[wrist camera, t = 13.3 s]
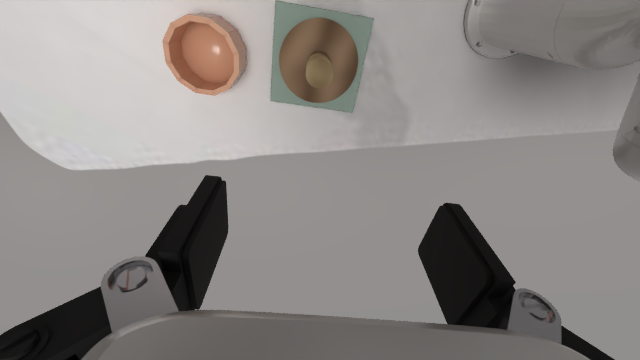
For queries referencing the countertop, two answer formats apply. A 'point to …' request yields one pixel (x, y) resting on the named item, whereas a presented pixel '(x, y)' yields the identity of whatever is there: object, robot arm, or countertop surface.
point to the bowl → (204, 53)
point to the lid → (318, 60)
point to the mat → (294, 14)
